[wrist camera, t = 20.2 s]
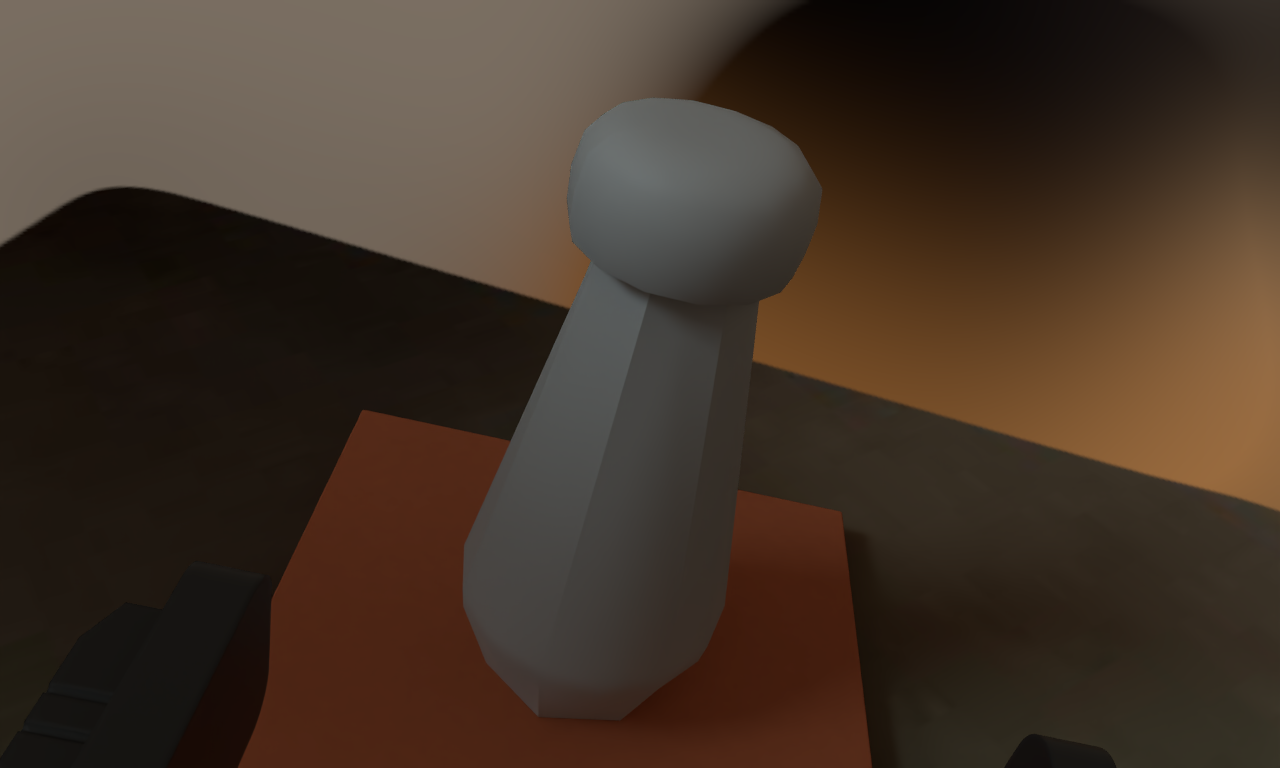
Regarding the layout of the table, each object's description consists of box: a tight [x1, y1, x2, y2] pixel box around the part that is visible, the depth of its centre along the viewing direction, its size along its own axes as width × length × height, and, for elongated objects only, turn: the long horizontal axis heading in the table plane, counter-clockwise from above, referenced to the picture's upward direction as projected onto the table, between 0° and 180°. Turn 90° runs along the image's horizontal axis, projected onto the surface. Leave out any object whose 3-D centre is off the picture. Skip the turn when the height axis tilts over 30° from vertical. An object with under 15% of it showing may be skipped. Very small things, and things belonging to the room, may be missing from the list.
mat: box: [238, 410, 872, 768], centre depth 26 cm, size 14×14×1 cm
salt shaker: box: [463, 98, 822, 721], centre depth 22 cm, size 6×6×13 cm
